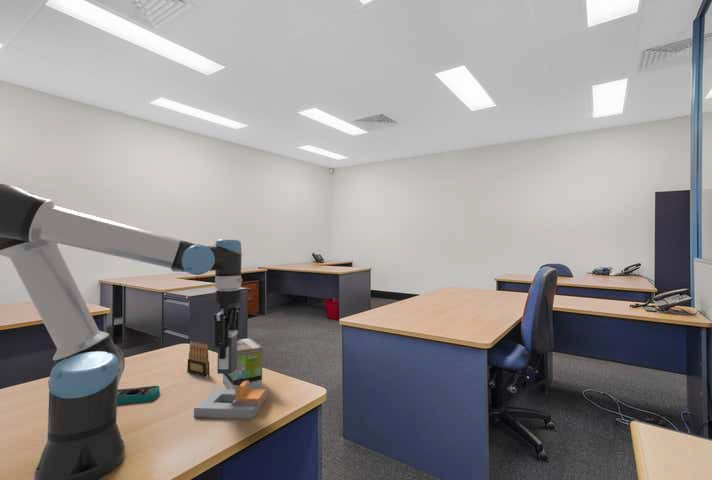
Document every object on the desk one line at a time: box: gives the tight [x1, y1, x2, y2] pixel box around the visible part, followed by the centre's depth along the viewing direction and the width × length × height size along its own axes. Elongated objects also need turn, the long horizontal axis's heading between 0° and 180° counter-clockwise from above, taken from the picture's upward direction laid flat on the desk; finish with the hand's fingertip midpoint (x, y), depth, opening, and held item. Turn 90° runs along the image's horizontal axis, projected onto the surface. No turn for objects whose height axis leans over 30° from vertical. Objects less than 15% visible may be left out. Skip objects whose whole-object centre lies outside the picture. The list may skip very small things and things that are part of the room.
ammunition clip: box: [186, 340, 210, 377], centre depth 127 cm, size 11×2×12 cm, turn 63°
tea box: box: [222, 337, 264, 389], centre depth 115 cm, size 15×10×15 cm, turn 35°
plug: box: [217, 330, 237, 375], centre depth 100 cm, size 4×4×12 cm
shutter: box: [235, 380, 267, 404], centre depth 99 cm, size 7×7×4 cm
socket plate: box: [193, 388, 268, 420], centre depth 99 cm, size 13×17×3 cm
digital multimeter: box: [117, 385, 161, 406], centre depth 105 cm, size 7×15×3 cm, turn 107°
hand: (227, 365), depth 100 cm, fingers closed on plug, 4 cm apart
